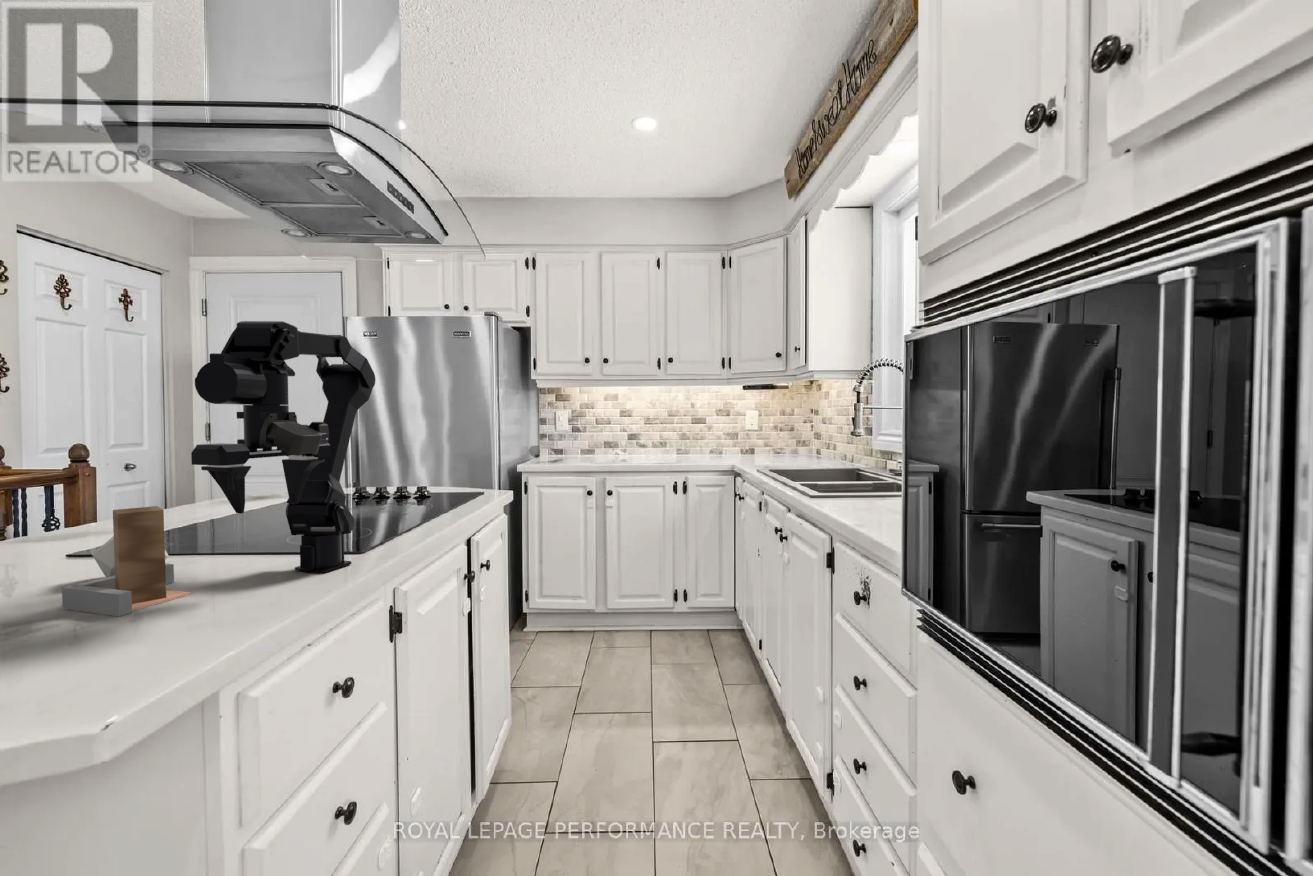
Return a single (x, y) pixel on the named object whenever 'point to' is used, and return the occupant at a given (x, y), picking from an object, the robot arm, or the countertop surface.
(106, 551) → the die
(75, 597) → the corner bracket
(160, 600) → the pad
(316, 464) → the robot arm
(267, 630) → the countertop surface
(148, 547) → the walnut block
